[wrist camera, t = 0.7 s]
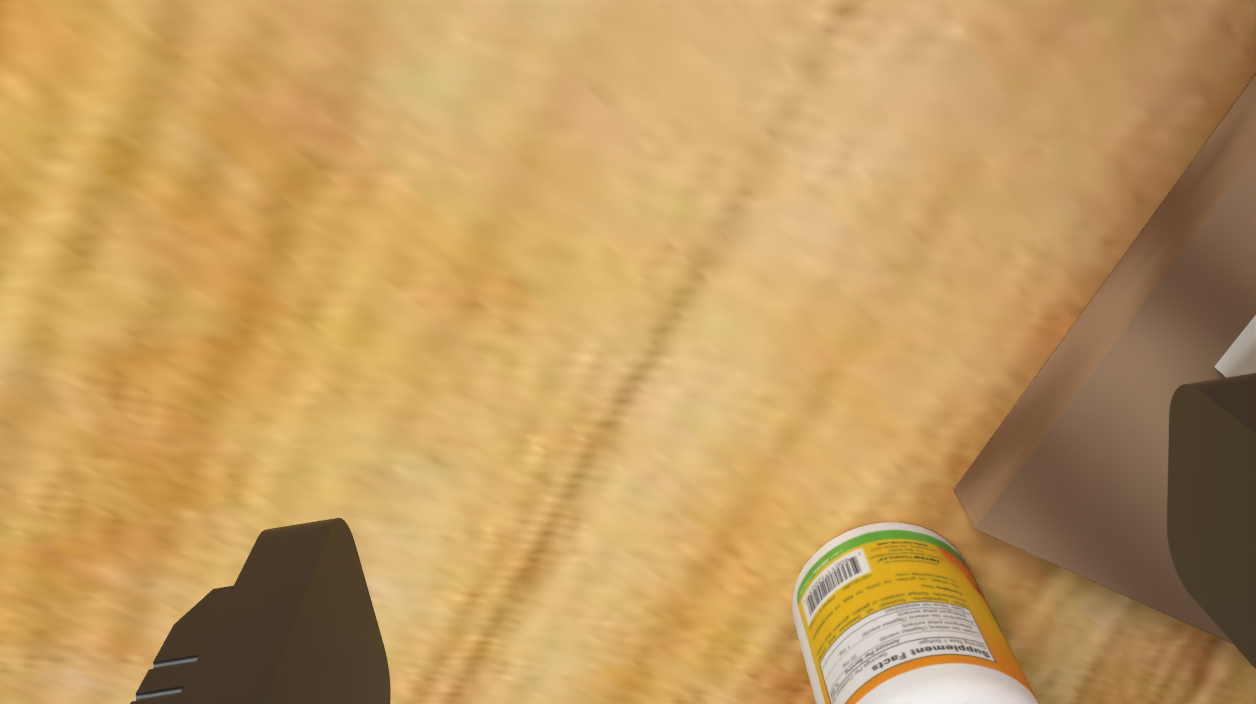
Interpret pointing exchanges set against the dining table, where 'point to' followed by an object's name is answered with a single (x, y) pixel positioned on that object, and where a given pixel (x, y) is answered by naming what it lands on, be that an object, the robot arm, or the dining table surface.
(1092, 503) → the stone ring base
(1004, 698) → the supplement bottle
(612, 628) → the dining table surface
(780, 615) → the dining table surface
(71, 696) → the dining table surface
